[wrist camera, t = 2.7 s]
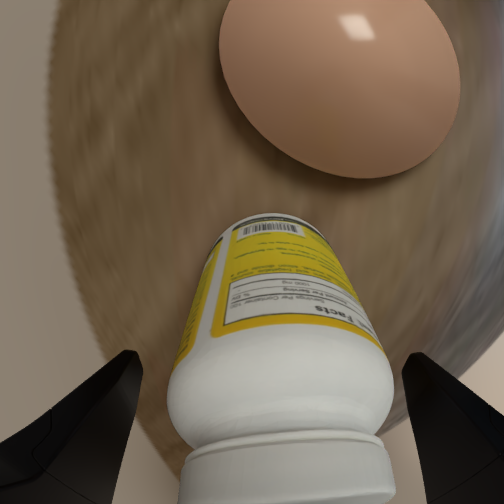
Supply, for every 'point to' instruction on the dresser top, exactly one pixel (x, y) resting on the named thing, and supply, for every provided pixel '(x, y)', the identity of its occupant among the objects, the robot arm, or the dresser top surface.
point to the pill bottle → (280, 376)
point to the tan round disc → (343, 80)
